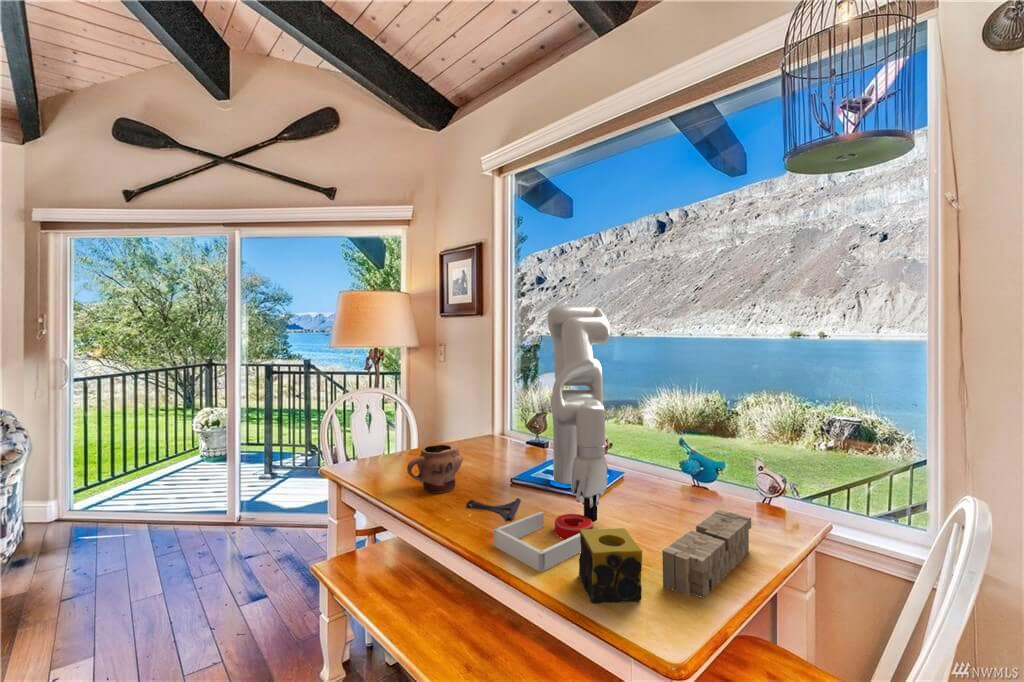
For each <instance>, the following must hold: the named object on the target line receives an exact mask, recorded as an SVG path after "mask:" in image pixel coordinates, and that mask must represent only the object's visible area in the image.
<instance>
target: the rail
mask: <svg viewBox="0 0 1024 682" xmlns="http://www.w3.org/2000/svg"><path fill="white" fill-rule="evenodd" d="M544 515H545V514H544V512H543V511H539V512H536V513H533V514H531V515H528V516H526V517H522V518H521V519H517V520H515V521H511V522H510V523H508V524H504V525H502V526H500V527H497V528H496V527H495V528H494V529H493V547H495V548H497V549H498V550H500V551H502V552H504V553H506V554H507V555H510V556H511V557H513V558H515V559H516V560H517V561H520V562H522V563H524V564H525V565H528V566H529V567H531V568H532V569H535V570H536V571H538V572H539V573H541V572H542V573H543V571H544V572H545V570H546V571H547V569H548V570H550V569H552V568H553V566H554V565H555V566H557V565H559V564H561V563H563V562H565V561H567V560H569V559H571V558H573V557H575V556H577V555H579V554H580V552H581V543H580V533H579V534H577V535H575V536H572V537H570V538H568V539H566V540H565V539H563V540H562V541H560V542H558V543H555V544H552V545H550V546H549V547H546V548H545V549H542V550H541V549H539V548H537V547H535V546H534V545H531V544H530V543H527V542H525V541H524V540H521V538H523V537H525V536H528V535H530V534H533V533H535V532H537V531H540V530H543V529H544V528H545V525H544V523H545V522H544V521H545V520H544V517H545V516H544ZM539 529H540V530H539ZM532 532H533V533H532ZM578 553H579V554H578ZM576 554H577V555H576ZM574 555H575V556H574ZM572 556H573V557H572ZM570 557H571V558H570ZM568 558H569V559H568ZM566 559H567V560H566ZM564 560H565V561H564ZM562 561H563V562H562ZM560 562H561V563H560ZM558 563H559V564H558ZM556 564H557V565H556ZM555 566H554V567H555ZM551 567H552V568H551ZM549 568H550V569H549Z"/></svg>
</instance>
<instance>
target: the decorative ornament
mask: <svg viewBox="0 0 1024 682" xmlns="http://www.w3.org/2000/svg"><path fill="white" fill-rule="evenodd" d="M582 529H594V522H592V520H591V519H589V518H588V517H586V516H584V514H577V513H564V514H561V515H559V516H557V517H556V518H555V519H554V534H555V533H556V534H555V535H556V536H557V535H558V536H559V537H558V536H557V537H558V538H560V537H561V538H560V539H562V538H563V539H562V540H565V539H568V538H570V537H572V536H575V535H577V534H579V533H580V530H582Z"/></svg>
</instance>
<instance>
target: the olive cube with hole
mask: <svg viewBox="0 0 1024 682" xmlns="http://www.w3.org/2000/svg"><path fill="white" fill-rule="evenodd" d="M580 543H581V553H579V559H578V564H579V565H578V577H580V578H579V579H580V580H581V584H582V583H583V584H582V585H583V588H584V590H585V592H587V593H588V594H587V593H586V594H587V596H588V595H589V596H588V597H589V601H590V602H591V603H593V604H603V603H602V602H608V603H609V602H615V603H627V602H641V600H642V591H643V590H642V589H643V588H642V568H643V550H642V549H641V547H640V545H638V544H637V543H636V542H635V540H634V539H633V538H632V536H631V535H630V534H629V531H627V529H626V528H625V527H624V528H622V527H621V528H598V529H597V528H593V529H582V530H580ZM621 601H622V602H621ZM623 601H625V602H623ZM597 602H598V603H597ZM599 602H601V603H599Z"/></svg>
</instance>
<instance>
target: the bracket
mask: <svg viewBox="0 0 1024 682" xmlns="http://www.w3.org/2000/svg"><path fill="white" fill-rule="evenodd" d="M520 504H521V498H519V497H517V498H515V500H514V501H511V502H508V503H506V504H502V505H501V504H500V505H490V504H485V503H482V502H479V501H475V500H473V499H469V500H468V501H467V503H466V505H465V507H466V509H475V510H476V509H477V510H489V511H492V512H496V513H497V514H499V515H500V516H501V517H503V519H504V520H505V521H506V522H507V521H509V519H510V522H513V520H514V519H515V518H514V517H515V515H516V513H517V510H518V509H519V506H520Z"/></svg>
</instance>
